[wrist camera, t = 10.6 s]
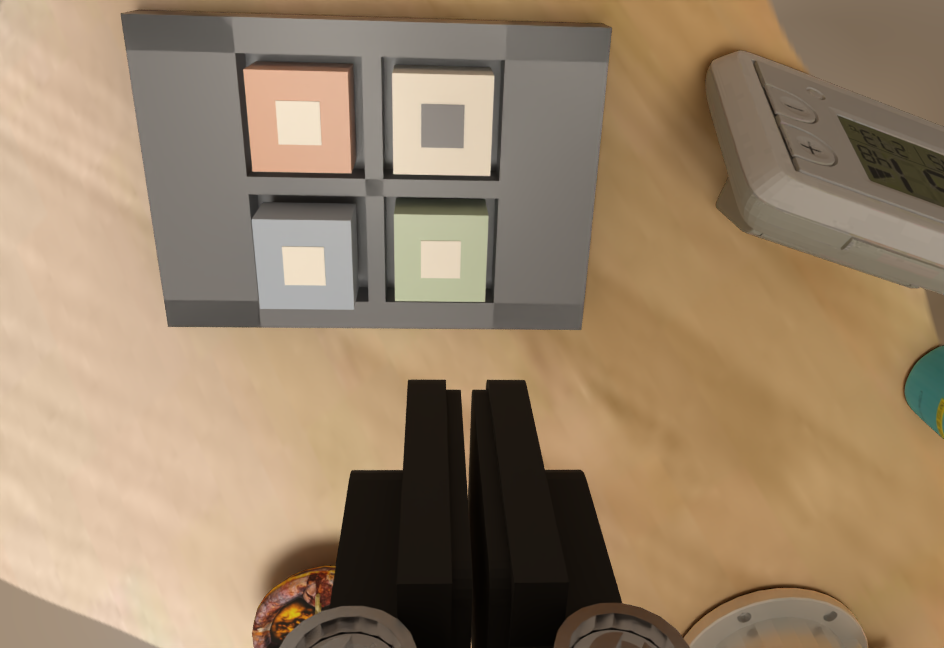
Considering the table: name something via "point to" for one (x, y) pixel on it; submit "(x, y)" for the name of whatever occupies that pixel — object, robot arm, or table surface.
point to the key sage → (440, 249)
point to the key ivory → (442, 120)
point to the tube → (928, 389)
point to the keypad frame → (369, 161)
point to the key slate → (306, 255)
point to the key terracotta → (301, 116)
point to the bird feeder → (292, 605)
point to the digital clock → (829, 170)
